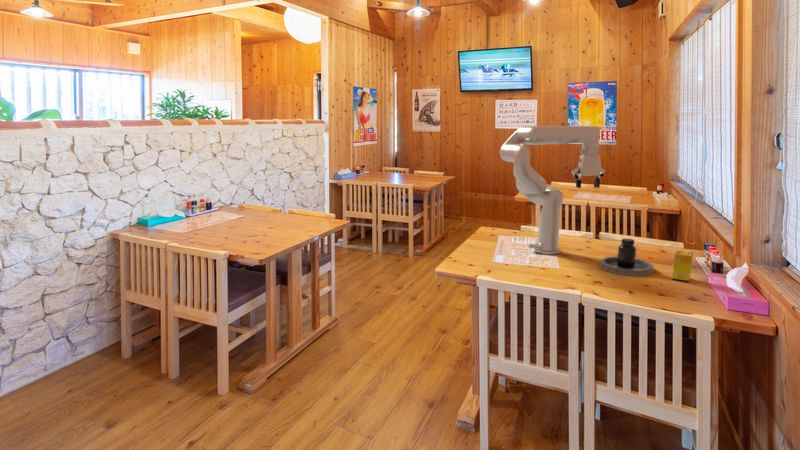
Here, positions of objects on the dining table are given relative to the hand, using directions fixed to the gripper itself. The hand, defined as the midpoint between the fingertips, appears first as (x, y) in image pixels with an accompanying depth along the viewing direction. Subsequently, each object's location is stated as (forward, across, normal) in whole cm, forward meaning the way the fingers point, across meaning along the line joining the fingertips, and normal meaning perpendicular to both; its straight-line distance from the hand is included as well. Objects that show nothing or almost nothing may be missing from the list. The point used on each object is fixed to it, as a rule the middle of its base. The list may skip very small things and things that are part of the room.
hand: (587, 187), depth 228 cm
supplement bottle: (+30, -3, -38) cm, 48 cm away
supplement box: (+31, +10, -54) cm, 63 cm away
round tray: (+30, -2, -38) cm, 48 cm away
